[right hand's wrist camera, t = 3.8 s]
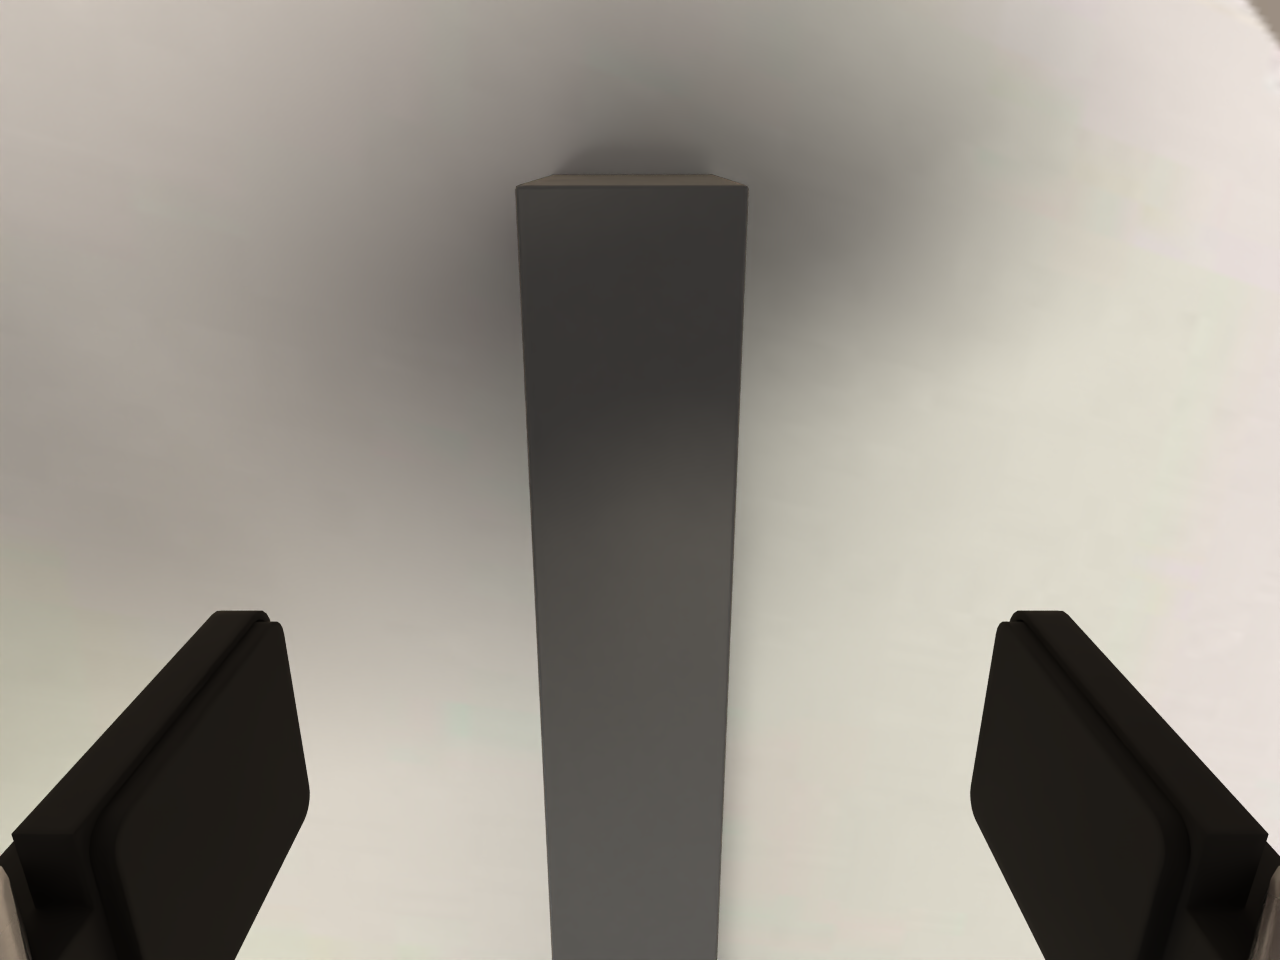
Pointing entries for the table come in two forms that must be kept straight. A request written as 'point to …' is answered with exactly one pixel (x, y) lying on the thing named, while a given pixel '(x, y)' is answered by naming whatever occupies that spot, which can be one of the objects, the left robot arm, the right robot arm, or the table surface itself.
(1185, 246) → the table surface
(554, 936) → the post
